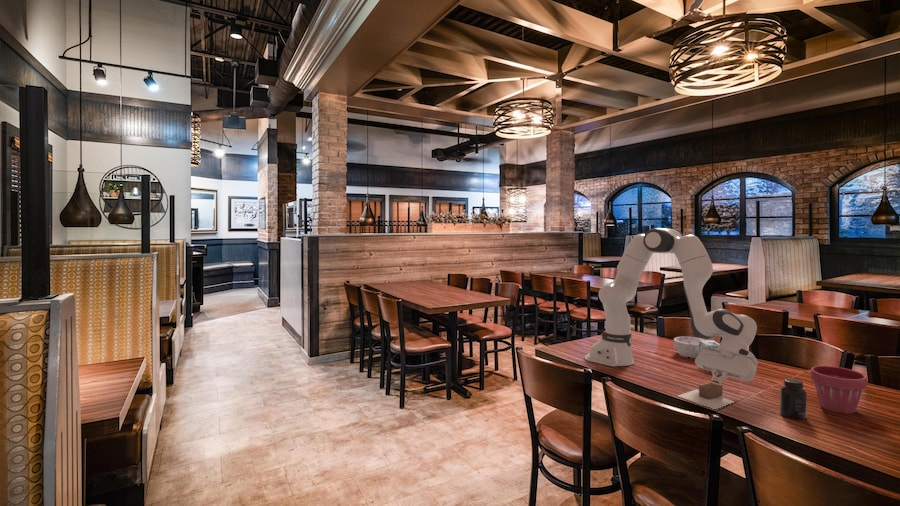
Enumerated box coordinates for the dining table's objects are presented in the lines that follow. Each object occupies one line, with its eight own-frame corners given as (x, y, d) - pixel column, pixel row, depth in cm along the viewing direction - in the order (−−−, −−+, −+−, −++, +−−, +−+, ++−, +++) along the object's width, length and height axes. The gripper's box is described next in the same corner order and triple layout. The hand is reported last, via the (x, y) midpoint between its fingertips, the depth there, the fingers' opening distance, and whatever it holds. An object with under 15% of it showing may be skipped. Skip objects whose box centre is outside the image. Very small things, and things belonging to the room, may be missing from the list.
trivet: (696, 390, 163) (696, 389, 163) (734, 402, 151) (735, 401, 151) (677, 396, 158) (677, 395, 158) (715, 410, 146) (715, 408, 146)
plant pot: (852, 420, 135) (853, 381, 135) (801, 404, 148) (802, 369, 148) (874, 412, 141) (875, 374, 140) (824, 397, 154) (824, 363, 153)
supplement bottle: (774, 412, 143) (775, 377, 142) (793, 410, 143) (793, 376, 143) (792, 421, 136) (793, 384, 135) (812, 419, 137) (812, 383, 136)
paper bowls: (696, 362, 198) (696, 345, 198) (666, 354, 212) (666, 338, 211) (715, 357, 205) (715, 341, 205) (685, 349, 219) (685, 334, 218)
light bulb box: (724, 369, 187) (724, 345, 186) (707, 368, 188) (707, 345, 188) (714, 362, 197) (714, 339, 197) (698, 361, 199) (698, 339, 198)
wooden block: (712, 392, 160) (698, 396, 157) (712, 382, 160) (698, 385, 157) (723, 396, 156) (708, 399, 153) (723, 385, 156) (708, 389, 153)
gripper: (700, 341, 169) (685, 369, 165) (756, 354, 151) (741, 385, 147) (707, 351, 172) (692, 378, 168) (763, 364, 153) (748, 395, 149)
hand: (715, 382), depth 157 cm, fingers closed
